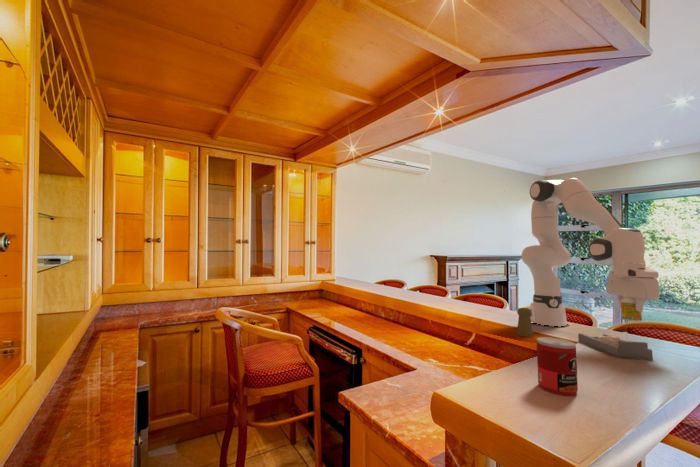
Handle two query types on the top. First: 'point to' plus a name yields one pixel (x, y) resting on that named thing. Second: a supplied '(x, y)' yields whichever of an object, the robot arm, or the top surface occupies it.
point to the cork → (524, 323)
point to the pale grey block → (609, 340)
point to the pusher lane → (623, 351)
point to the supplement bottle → (630, 309)
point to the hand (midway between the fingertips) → (631, 309)
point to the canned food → (557, 366)
